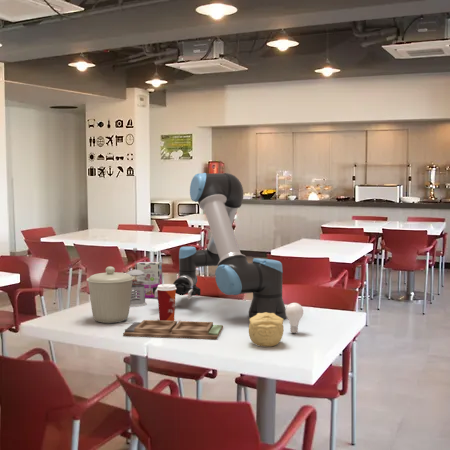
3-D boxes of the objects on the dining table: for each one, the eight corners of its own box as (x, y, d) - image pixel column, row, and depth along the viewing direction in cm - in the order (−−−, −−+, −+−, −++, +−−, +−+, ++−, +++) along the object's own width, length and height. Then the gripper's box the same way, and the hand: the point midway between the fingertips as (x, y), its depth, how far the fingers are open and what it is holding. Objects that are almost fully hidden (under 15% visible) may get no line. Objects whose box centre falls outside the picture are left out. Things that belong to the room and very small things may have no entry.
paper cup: (175, 323, 224) (175, 287, 223) (155, 323, 225) (155, 287, 224) (177, 318, 232) (177, 283, 231) (158, 318, 232) (157, 283, 231)
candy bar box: (162, 296, 277) (162, 261, 276) (159, 298, 272) (159, 263, 271) (139, 295, 279) (139, 261, 278) (136, 298, 274) (135, 262, 273)
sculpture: (249, 349, 190) (249, 316, 190) (247, 339, 202) (247, 308, 202) (285, 349, 190) (285, 316, 190) (281, 339, 202) (281, 308, 202)
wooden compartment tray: (223, 327, 218) (223, 321, 218) (216, 339, 202) (216, 332, 202) (136, 325, 222) (136, 318, 222) (123, 336, 207) (123, 329, 206)
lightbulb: (298, 336, 206) (298, 305, 205) (282, 334, 209) (282, 303, 208) (306, 332, 211) (306, 302, 210) (289, 330, 214) (290, 300, 213)
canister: (111, 312, 243) (110, 262, 241) (144, 318, 233) (143, 265, 231) (77, 321, 228) (76, 267, 227) (110, 328, 218) (109, 271, 216)
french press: (128, 301, 265) (127, 246, 264) (153, 302, 264) (152, 246, 262) (121, 306, 256) (120, 248, 254) (147, 307, 254) (146, 249, 252)
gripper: (211, 294, 257) (202, 305, 236) (155, 292, 261) (142, 303, 240) (211, 277, 257) (202, 286, 236) (155, 276, 260) (141, 284, 239)
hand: (172, 295), depth 238 cm, fingers open, 13 cm apart
